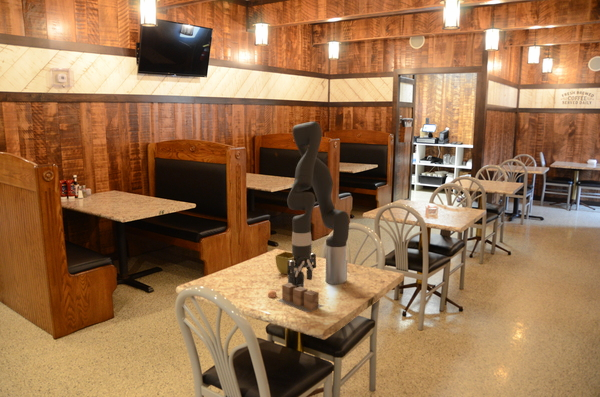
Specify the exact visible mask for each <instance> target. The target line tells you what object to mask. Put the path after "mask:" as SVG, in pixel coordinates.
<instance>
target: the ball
mask: <svg viewBox="0 0 600 397" xmlns="http://www.w3.org/2000/svg"><path fill="white" fill-rule="evenodd" d="M276 297H277V292H276V290H274V289H273V290H269V291H268V293H267V298H272V299H274V298H276Z"/></svg>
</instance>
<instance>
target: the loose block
mask: <svg viewBox="0 0 600 397" xmlns="http://www.w3.org/2000/svg"><path fill="white" fill-rule="evenodd" d="M307 291H308V288H306V287H304V288H303V287H301V286H300V287H297V288H294V289H293V303H294V304H296V305H299V306H302V305H304V293H305V292H307Z"/></svg>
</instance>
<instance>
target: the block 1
mask: <svg viewBox="0 0 600 397" xmlns="http://www.w3.org/2000/svg"><path fill="white" fill-rule="evenodd" d="M281 287H282V290H281V292H282V295H281V296H282V298H281V299H283V300H286V301H288V302H290V301H293V289H294V288H296V286H294V285H292V283H288V282H287V283H285V284H282V285H281Z"/></svg>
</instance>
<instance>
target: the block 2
mask: <svg viewBox="0 0 600 397" xmlns="http://www.w3.org/2000/svg"><path fill="white" fill-rule="evenodd" d="M319 294H320V292H318V291H315V290H312V289H310V290H307V292H305V293H304V308H307V309H310V310H313V309H315V310H317V309H316V308H318V306H319V304H320V303H319V298H320V297H319V296H320V295H319ZM318 309H319V308H318ZM313 311H314V310H313Z"/></svg>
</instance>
